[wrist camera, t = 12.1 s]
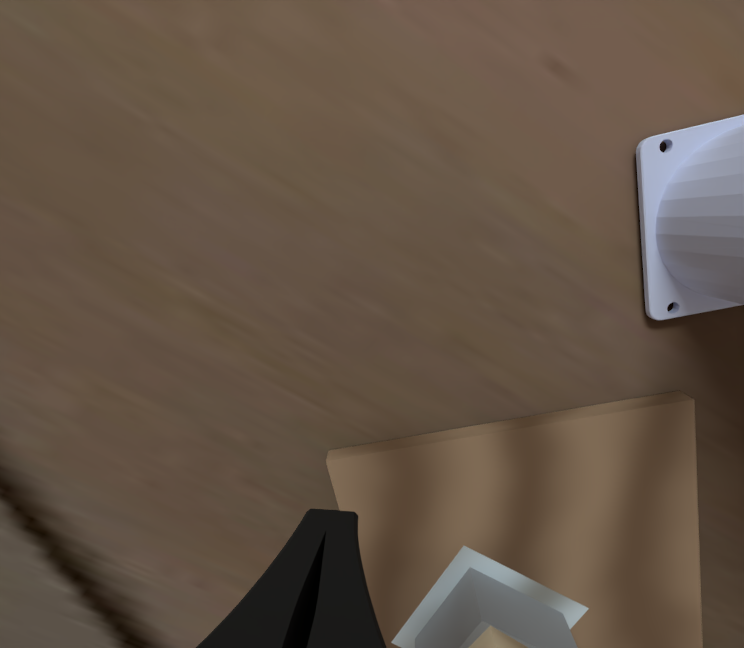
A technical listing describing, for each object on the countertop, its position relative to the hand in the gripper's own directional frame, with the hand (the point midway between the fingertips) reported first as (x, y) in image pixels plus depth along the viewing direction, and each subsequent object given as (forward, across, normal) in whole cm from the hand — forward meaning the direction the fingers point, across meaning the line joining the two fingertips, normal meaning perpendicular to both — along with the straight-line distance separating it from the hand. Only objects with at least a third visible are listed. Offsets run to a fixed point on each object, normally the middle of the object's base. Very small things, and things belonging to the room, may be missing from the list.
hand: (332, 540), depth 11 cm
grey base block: (+9, -8, +14) cm, 18 cm away
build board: (+10, -9, +10) cm, 17 cm away
